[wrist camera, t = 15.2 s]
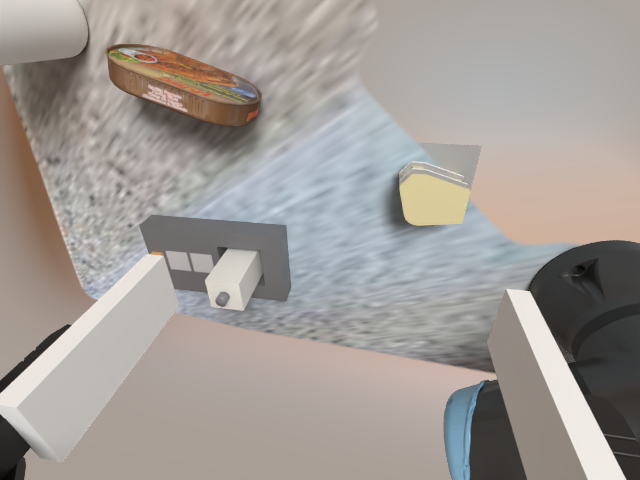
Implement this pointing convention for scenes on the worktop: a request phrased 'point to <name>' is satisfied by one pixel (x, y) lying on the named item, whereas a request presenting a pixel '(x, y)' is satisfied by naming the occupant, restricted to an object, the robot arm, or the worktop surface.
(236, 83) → the tin
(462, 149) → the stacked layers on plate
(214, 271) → the block
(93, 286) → the worktop surface
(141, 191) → the worktop surface
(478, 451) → the robot arm
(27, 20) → the milk bottle
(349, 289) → the worktop surface
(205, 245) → the power strip
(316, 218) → the worktop surface
